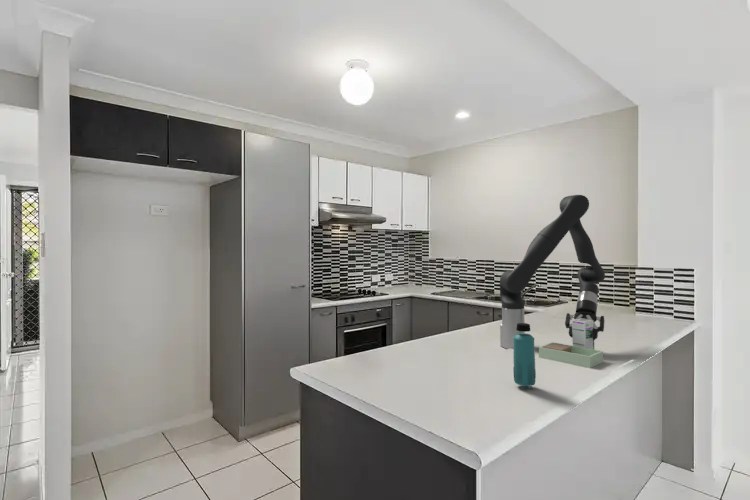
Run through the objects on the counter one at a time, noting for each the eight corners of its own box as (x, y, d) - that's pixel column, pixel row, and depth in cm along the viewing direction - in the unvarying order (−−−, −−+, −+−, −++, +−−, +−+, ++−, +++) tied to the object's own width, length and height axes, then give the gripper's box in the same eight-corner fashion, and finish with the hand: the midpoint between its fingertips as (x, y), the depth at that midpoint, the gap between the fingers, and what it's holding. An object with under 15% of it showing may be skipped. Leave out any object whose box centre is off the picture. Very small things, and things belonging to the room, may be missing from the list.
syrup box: (585, 358, 159) (585, 321, 159) (572, 355, 164) (571, 319, 164) (594, 356, 162) (594, 319, 161) (580, 353, 167) (580, 317, 167)
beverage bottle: (539, 391, 125) (538, 325, 124) (517, 391, 125) (516, 325, 125) (531, 383, 131) (530, 321, 131) (510, 384, 131) (509, 321, 131)
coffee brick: (543, 357, 160) (543, 346, 160) (553, 353, 165) (553, 343, 165) (561, 360, 154) (561, 350, 154) (571, 356, 160) (571, 346, 159)
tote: (538, 358, 160) (538, 347, 160) (553, 353, 167) (553, 342, 167) (590, 369, 145) (589, 356, 145) (603, 363, 152) (603, 351, 152)
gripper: (566, 297, 173) (561, 330, 164) (605, 300, 165) (602, 334, 155) (569, 308, 177) (564, 340, 168) (607, 311, 169) (604, 345, 160)
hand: (582, 337), depth 162 cm, fingers closed on syrup box, 7 cm apart
